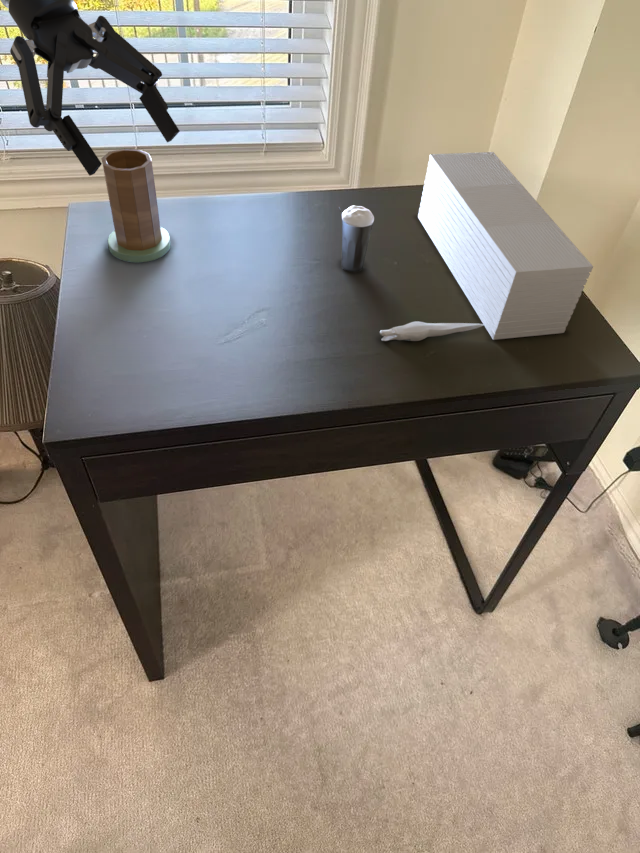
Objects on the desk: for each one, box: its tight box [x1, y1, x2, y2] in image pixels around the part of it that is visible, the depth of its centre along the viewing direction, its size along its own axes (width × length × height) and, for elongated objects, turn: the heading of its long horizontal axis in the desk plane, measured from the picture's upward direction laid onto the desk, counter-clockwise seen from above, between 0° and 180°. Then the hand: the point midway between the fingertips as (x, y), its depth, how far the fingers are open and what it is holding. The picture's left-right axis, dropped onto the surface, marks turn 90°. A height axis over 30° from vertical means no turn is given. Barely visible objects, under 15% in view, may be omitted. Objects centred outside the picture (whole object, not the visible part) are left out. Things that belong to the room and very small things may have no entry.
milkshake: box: [337, 204, 375, 273], centre depth 92 cm, size 4×5×10 cm
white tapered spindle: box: [379, 320, 484, 342], centre depth 86 cm, size 15×3×2 cm, turn 103°
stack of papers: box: [417, 151, 594, 341], centre depth 94 cm, size 32×11×11 cm, turn 13°
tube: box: [100, 148, 162, 251], centre depth 91 cm, size 6×7×12 cm
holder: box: [107, 226, 172, 264], centre depth 93 cm, size 9×9×9 cm
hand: (136, 153), depth 84 cm, fingers open, 13 cm apart
